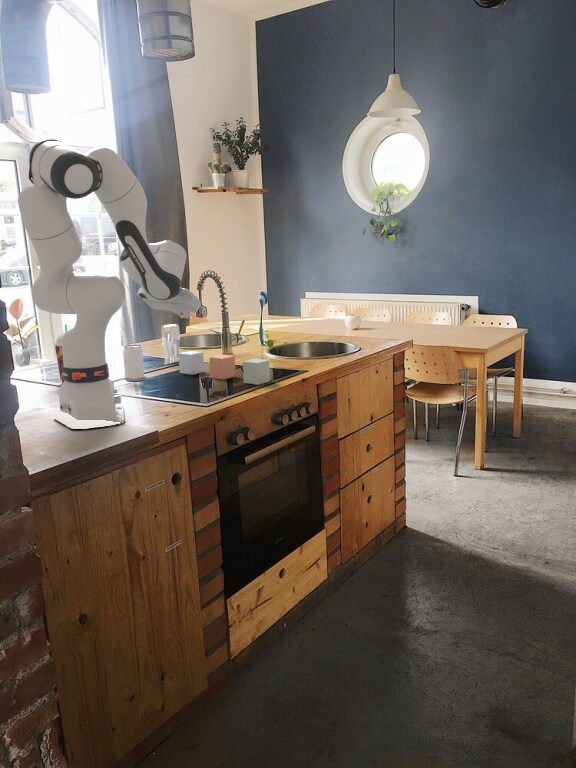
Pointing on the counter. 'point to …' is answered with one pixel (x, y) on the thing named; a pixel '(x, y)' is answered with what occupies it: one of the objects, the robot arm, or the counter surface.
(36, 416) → the counter surface
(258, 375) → the sage block
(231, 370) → the terracotta block
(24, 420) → the counter surface
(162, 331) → the beer glass
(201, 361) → the bluegrey block
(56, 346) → the smoothie
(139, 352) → the can
